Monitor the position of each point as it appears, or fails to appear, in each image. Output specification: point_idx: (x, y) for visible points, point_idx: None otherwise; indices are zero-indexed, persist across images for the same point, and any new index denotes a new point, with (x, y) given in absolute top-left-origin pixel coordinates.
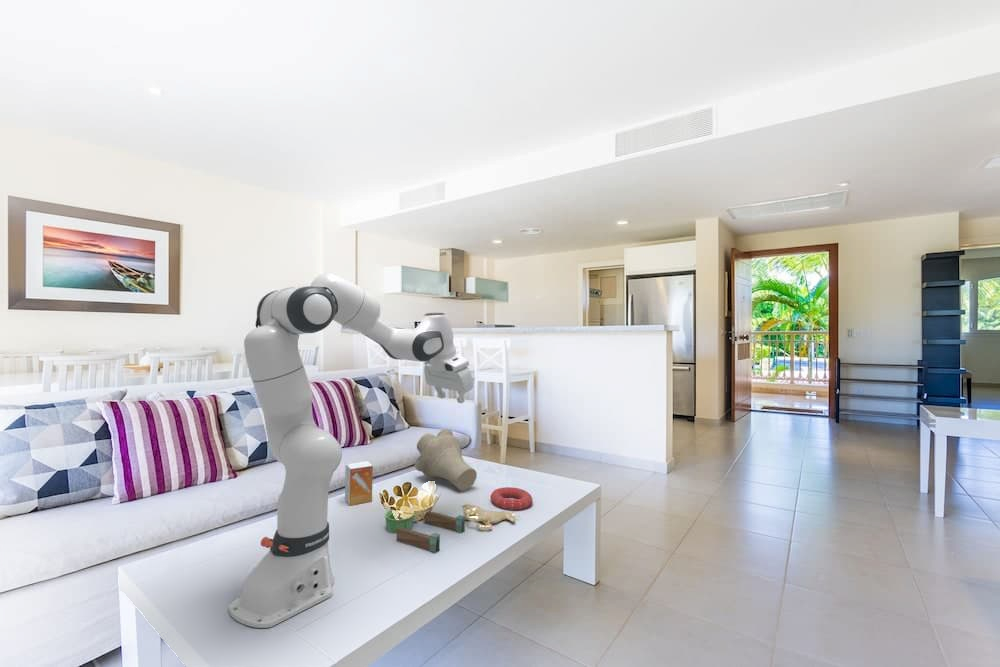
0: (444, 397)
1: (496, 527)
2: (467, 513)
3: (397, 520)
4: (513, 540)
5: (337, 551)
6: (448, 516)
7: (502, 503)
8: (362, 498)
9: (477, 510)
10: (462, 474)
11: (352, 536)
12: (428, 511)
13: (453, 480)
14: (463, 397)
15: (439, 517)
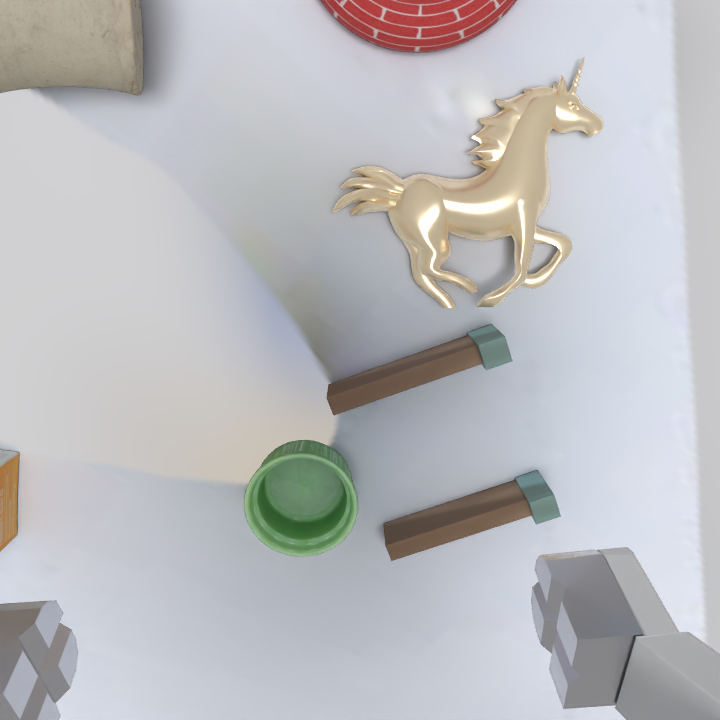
0: (58, 609)
1: (559, 206)
2: (459, 283)
3: (344, 537)
4: (680, 232)
5: (330, 683)
6: (433, 366)
7: (452, 42)
8: (7, 498)
9: (458, 222)
10: (134, 54)
11: (268, 620)
12: (337, 399)
13: (95, 87)
14: (667, 622)
15: (404, 389)
